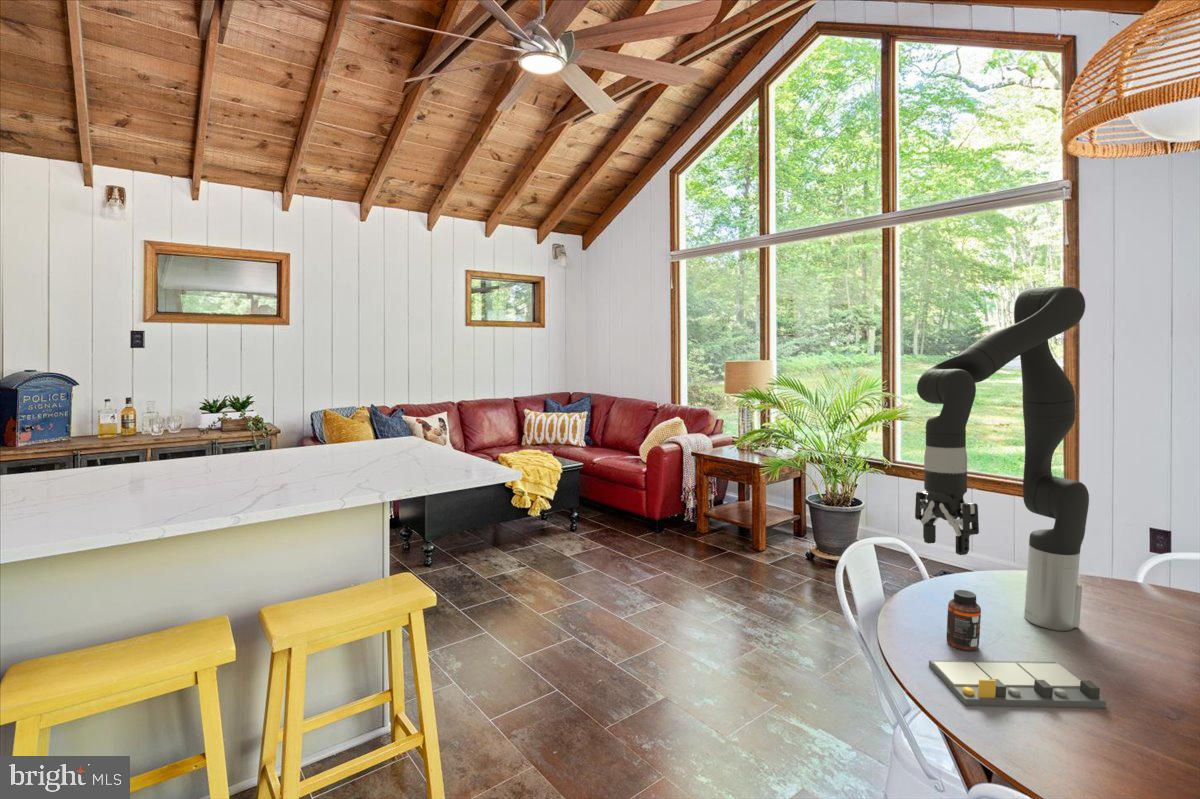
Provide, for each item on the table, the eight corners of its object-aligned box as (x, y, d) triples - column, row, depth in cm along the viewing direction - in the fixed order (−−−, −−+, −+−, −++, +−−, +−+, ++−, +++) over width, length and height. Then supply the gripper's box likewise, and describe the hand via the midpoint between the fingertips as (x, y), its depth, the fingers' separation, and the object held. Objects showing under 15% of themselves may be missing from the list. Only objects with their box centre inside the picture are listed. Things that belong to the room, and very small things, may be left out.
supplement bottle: (983, 653, 125) (987, 600, 124) (952, 650, 126) (954, 598, 125) (972, 639, 131) (975, 588, 130) (942, 636, 132) (944, 586, 131)
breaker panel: (1054, 667, 120) (1055, 646, 119) (1105, 707, 107) (1107, 684, 106) (928, 665, 121) (929, 644, 120) (965, 705, 108) (966, 681, 107)
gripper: (990, 473, 116) (990, 557, 117) (935, 462, 130) (935, 538, 131) (956, 475, 115) (956, 560, 115) (904, 464, 129) (904, 540, 129)
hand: (945, 548), depth 123 cm, fingers open, 8 cm apart
